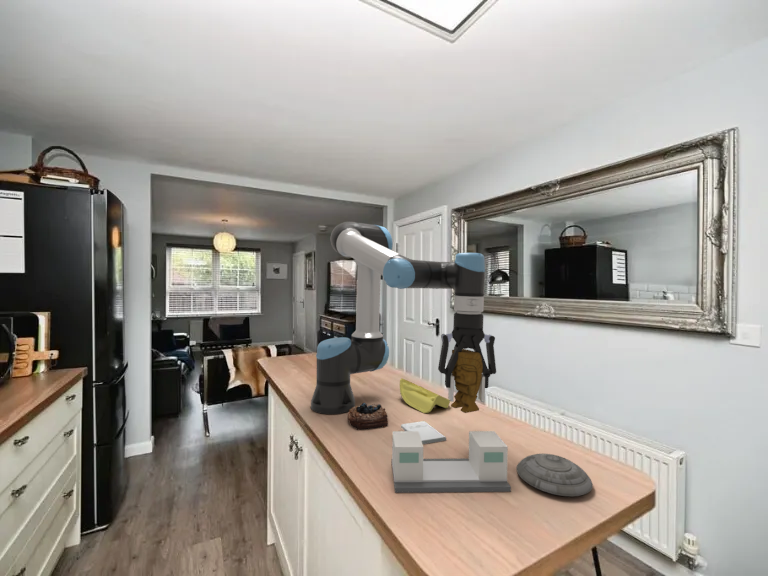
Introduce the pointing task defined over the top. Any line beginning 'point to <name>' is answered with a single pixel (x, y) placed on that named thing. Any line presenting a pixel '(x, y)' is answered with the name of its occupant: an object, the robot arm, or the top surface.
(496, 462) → the rail board
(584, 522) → the top surface
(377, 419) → the pastry
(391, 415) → the top surface
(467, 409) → the figurine
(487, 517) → the top surface
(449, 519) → the top surface
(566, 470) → the flying saucer
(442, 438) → the external hard drive
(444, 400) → the plastic component
